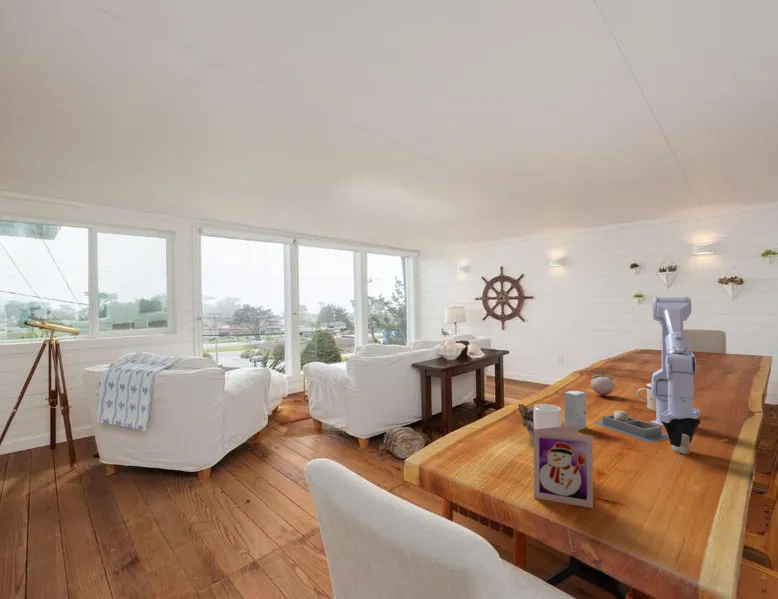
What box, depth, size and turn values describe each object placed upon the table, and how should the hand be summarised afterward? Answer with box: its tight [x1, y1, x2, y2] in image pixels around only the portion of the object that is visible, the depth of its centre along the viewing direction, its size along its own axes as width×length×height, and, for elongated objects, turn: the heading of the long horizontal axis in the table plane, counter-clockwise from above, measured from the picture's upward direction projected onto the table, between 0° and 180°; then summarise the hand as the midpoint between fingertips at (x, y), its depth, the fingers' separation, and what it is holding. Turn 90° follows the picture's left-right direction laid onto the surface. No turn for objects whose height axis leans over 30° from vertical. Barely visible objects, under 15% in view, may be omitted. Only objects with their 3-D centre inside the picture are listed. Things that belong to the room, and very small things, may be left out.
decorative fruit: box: [590, 373, 616, 397], centre depth 165 cm, size 9×8×10 cm
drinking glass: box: [534, 403, 563, 429], centre depth 98 cm, size 7×7×15 cm
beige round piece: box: [613, 410, 629, 422], centre depth 125 cm, size 4×4×4 cm
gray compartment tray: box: [590, 414, 669, 444], centre depth 122 cm, size 12×20×3 cm, turn 22°
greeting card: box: [533, 425, 594, 509], centre depth 82 cm, size 11×7×15 cm, turn 69°
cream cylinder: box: [671, 434, 691, 455], centre depth 106 cm, size 4×4×4 cm
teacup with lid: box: [636, 383, 656, 412], centre depth 146 cm, size 12×9×12 cm
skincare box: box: [563, 390, 587, 431], centre depth 124 cm, size 6×4×12 cm
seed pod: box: [517, 403, 536, 444], centre depth 114 cm, size 13×16×15 cm
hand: (680, 444), depth 106 cm, fingers closed on cream cylinder, 4 cm apart
